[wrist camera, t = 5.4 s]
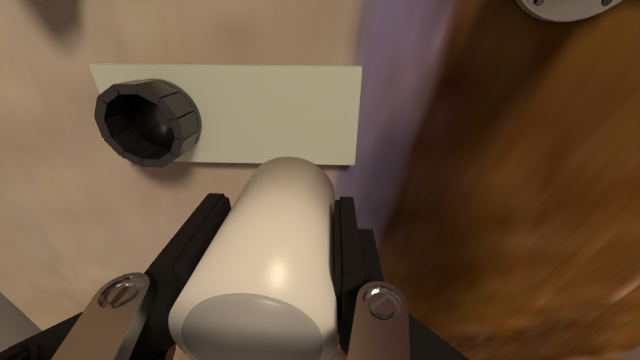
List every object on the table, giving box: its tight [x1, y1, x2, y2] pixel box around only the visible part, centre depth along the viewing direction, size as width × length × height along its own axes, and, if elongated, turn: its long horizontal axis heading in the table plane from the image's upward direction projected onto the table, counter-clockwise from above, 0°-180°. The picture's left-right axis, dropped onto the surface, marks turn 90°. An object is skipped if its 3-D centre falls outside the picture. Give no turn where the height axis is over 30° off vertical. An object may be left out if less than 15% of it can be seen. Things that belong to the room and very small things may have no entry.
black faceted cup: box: [94, 78, 202, 167], centre depth 25 cm, size 8×8×4 cm
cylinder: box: [168, 156, 338, 360], centre depth 10 cm, size 4×4×7 cm
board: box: [89, 63, 362, 165], centre depth 27 cm, size 26×10×2 cm, turn 90°
